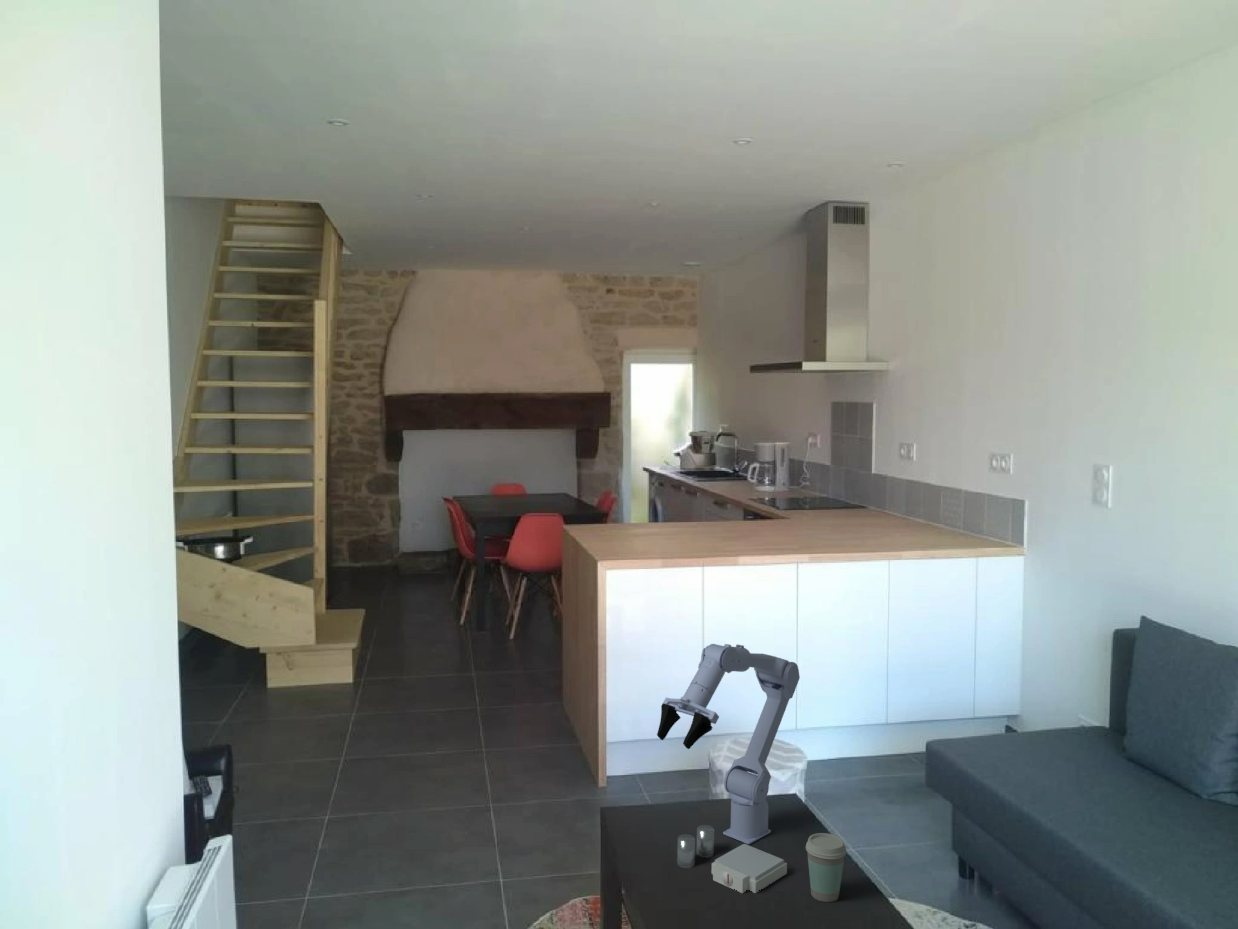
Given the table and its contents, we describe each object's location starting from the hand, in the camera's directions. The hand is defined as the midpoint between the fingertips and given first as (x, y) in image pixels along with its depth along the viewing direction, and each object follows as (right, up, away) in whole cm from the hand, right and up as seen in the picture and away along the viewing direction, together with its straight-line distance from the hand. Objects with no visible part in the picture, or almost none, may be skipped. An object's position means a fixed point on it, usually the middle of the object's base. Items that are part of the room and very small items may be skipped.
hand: (672, 742), depth 206 cm
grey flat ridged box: (+16, -30, +2) cm, 35 cm away
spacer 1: (+4, -30, +7) cm, 31 cm away
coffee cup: (+32, -31, -6) cm, 45 cm away
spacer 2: (+8, -30, +12) cm, 33 cm away
